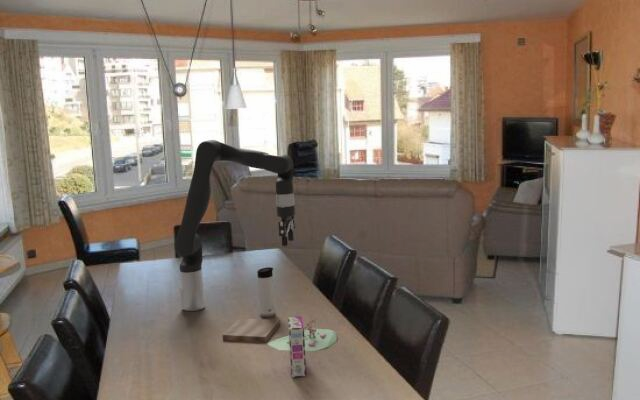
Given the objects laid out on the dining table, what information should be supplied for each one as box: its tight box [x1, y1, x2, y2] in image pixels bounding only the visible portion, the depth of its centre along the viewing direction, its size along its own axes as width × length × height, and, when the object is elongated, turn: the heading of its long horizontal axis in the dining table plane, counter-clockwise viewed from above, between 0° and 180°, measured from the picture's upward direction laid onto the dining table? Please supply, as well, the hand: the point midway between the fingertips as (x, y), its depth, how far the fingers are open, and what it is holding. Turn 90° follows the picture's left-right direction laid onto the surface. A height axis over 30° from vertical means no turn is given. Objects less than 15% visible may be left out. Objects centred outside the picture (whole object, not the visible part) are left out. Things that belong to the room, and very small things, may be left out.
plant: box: [267, 316, 338, 352], centre depth 215 cm, size 25×21×9 cm
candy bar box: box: [287, 315, 307, 379], centre depth 191 cm, size 11×5×16 cm, turn 5°
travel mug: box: [257, 266, 276, 318], centre depth 243 cm, size 6×7×20 cm
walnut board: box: [222, 318, 281, 343], centre depth 226 cm, size 17×17×2 cm
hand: (288, 243), depth 243 cm, fingers open, 8 cm apart
